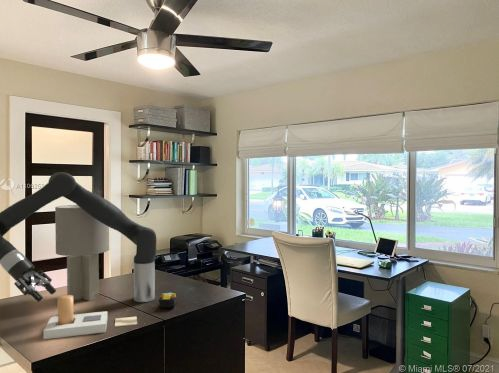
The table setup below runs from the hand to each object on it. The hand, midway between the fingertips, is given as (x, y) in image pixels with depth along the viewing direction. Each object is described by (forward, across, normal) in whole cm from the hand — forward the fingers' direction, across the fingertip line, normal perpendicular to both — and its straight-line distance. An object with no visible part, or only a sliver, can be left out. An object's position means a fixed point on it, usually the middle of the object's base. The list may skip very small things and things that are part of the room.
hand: (47, 296), depth 140 cm
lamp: (+5, +38, +13) cm, 40 cm away
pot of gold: (+36, +28, -18) cm, 49 cm away
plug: (+13, 0, +4) cm, 14 cm away
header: (+16, +1, +1) cm, 16 cm away
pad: (+27, +8, -10) cm, 30 cm away
